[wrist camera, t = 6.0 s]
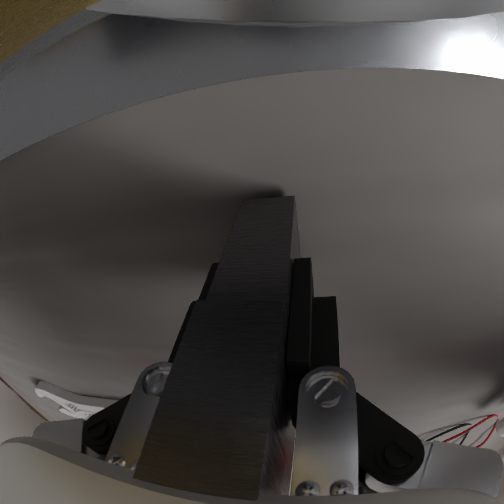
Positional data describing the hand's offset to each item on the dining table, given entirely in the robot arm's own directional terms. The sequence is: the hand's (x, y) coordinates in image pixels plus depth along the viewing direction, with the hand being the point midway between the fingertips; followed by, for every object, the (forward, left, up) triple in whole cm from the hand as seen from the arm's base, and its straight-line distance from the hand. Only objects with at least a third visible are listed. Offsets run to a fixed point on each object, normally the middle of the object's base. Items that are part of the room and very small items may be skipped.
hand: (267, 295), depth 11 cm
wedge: (0, 0, -3) cm, 3 cm away
